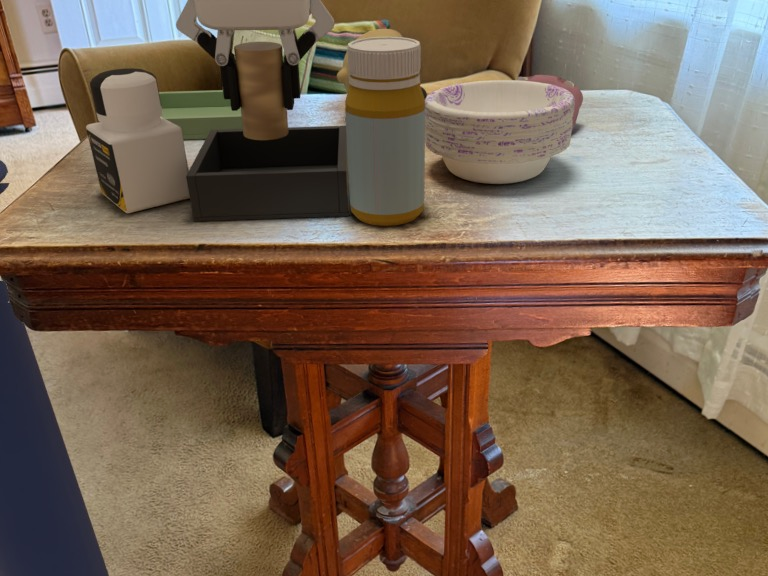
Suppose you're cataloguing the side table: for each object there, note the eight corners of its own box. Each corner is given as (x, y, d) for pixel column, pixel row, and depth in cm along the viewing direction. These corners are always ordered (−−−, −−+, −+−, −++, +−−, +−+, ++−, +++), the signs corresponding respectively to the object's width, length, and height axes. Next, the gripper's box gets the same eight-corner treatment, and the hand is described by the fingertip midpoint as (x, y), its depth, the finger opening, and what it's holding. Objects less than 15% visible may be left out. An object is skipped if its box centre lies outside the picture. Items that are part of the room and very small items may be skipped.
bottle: (418, 230, 68) (419, 52, 60) (343, 225, 70) (333, 51, 61) (428, 201, 74) (430, 36, 66) (359, 198, 75) (352, 35, 67)
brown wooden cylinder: (240, 140, 72) (231, 51, 68) (246, 127, 76) (237, 41, 71) (286, 140, 72) (280, 50, 68) (289, 127, 76) (283, 41, 71)
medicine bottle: (101, 194, 78) (71, 71, 71) (166, 179, 81) (143, 60, 74) (126, 215, 73) (96, 85, 66) (194, 198, 76) (173, 72, 69)
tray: (128, 141, 93) (124, 119, 91) (152, 111, 104) (148, 92, 103) (272, 136, 93) (269, 115, 92) (280, 107, 104) (278, 88, 103)
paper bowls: (424, 149, 88) (425, 77, 83) (556, 148, 87) (564, 75, 82) (422, 196, 75) (423, 115, 71) (576, 196, 74) (587, 113, 70)
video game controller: (577, 141, 94) (590, 83, 93) (569, 133, 90) (583, 72, 89) (502, 132, 98) (513, 76, 97) (491, 124, 94) (503, 65, 92)
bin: (193, 221, 71) (185, 175, 69) (216, 170, 83) (210, 129, 81) (348, 216, 71) (346, 170, 69) (348, 165, 84) (346, 125, 81)
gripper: (345, -123, 66) (351, 95, 76) (149, -122, 65) (182, 97, 75) (344, -121, 59) (351, 116, 70) (128, -120, 59) (167, 118, 69)
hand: (263, 104), depth 73 cm, fingers closed on brown wooden cylinder, 4 cm apart
